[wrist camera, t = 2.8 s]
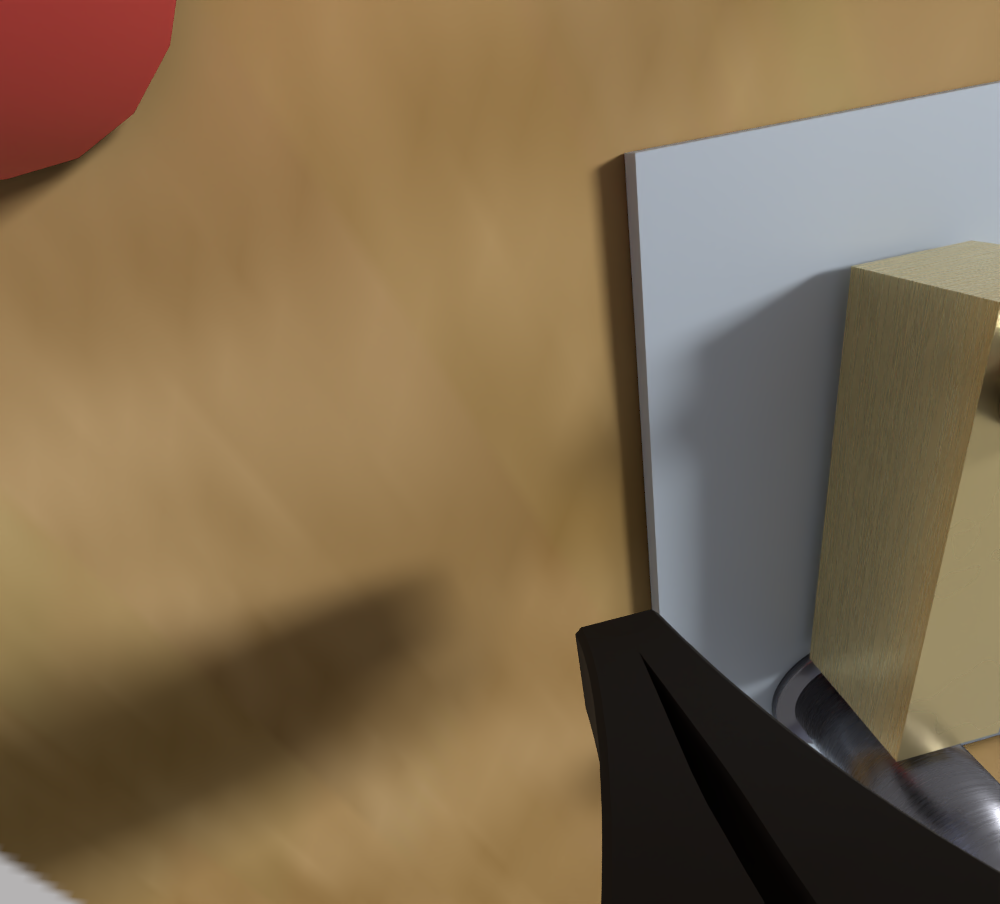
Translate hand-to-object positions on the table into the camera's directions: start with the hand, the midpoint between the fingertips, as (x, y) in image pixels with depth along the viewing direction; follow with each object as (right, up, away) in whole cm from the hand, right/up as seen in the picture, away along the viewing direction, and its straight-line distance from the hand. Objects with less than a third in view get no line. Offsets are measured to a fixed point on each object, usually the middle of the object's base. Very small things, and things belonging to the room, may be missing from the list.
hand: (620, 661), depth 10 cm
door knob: (+7, -3, +7) cm, 11 cm away
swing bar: (+6, +3, +3) cm, 8 cm away
